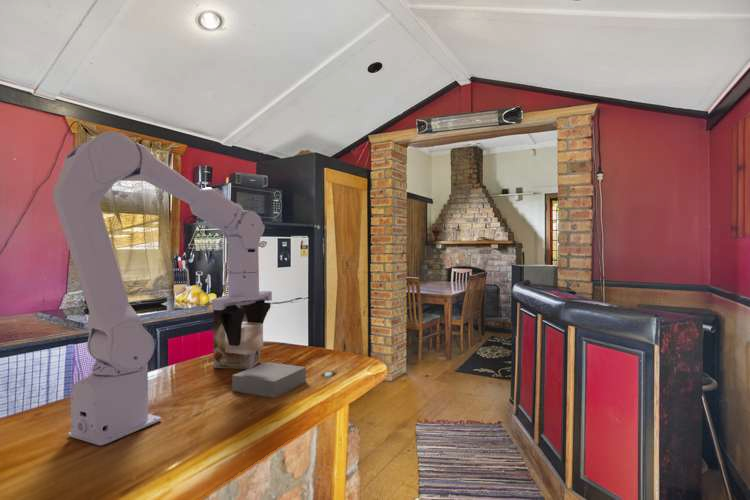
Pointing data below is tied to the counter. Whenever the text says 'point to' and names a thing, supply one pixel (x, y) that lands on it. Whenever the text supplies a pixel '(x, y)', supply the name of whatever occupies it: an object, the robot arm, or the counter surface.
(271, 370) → the base
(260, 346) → the cube
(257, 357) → the coffee box
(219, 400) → the counter surface
